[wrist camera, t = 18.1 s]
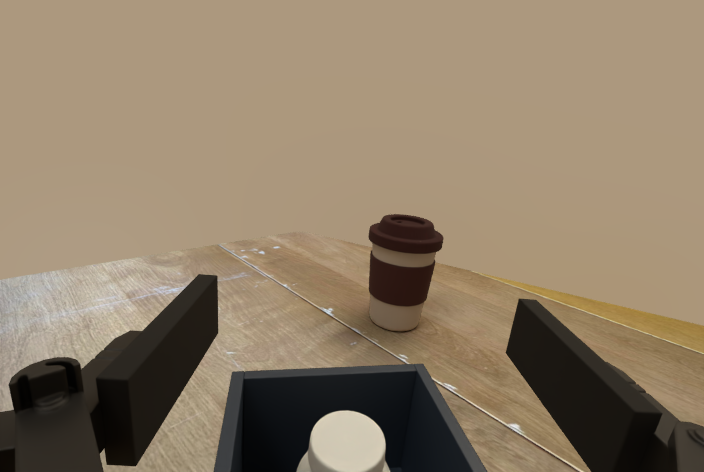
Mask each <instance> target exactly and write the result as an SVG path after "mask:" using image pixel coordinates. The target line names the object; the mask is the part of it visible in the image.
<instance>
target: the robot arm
mask: <svg viewBox="0 0 704 472" xmlns="http://www.w3.org/2000/svg"><path fill="white" fill-rule="evenodd" d="M217 334H218V286H217V276H214V275H201V274H199V275H198V276H197V277H196V278H195V279H194V280H193V281H192V282H191V283H190V284H189V285H188V286H187V287H186V288H185V289H184V290H183V291H182V292H181V293H180V294H179V295H178V296H177V297H176V298H175V299H174V300H173V301H172V302H171V303H170V304H169V305H168V306H167V307H166V308H165V309H164V310H163V311H162V312H161V313H160V314H159V315H158V316H157V317H156V318H155V319H154V320H153V321H152V322H151V323H150V324H149V325H148V326H147V327H146V328H145V329H144V330H143V331H129V332H127V333H125V334H123V335H121V336H119V337H117V338H115V339H114V340H113V341H112V342H111V343H110V344H109V345H108V346H106V347H105V348H104V350H102V351H101V352H100V353H99V354H98V355H97V356H96V357H95V359H92V360H91V361H90V362H89V363H88V364H87V365H86V366H85V367H84V368H82V369H81V366H80V363H79V362H78V361H77V360H76V359H72V358H69V357H57V358H52V359H46V360H43V361H40V362H37V363H34V364H31V365H29V366H27V367H26V368H24V369H22V370H20V371H19V372H18V373H17V374H15V375H14V376H13V377H12V378H11V381H10V383H9V388H10V393H11V398H12V402H13V407H14V410H11V411H4V412H0V472H103V467H102V463H101V459H100V453H101V452H102V451H103V449H104V448H105V455H106V463H107V465H122V466H136V465H137V464H138V462H139V460H140V459H141V457H142V456H143V454H144V452H145V451H146V449H147V447H148V446H149V444H150V443H151V441H152V439H153V438H154V436H155V434H156V433H157V431H158V430H159V428H160V426H161V425H162V423H163V422H164V420H165V418H166V417H167V415H168V413H169V412H170V410H171V409H172V407H173V405H174V404H175V402H176V400H177V399H178V397H179V396H180V394H181V392H182V391H183V389H184V387H185V386H186V384H187V383H188V381H189V379H190V378H191V376H192V375H193V373H194V371H195V370H196V368H197V366H198V365H199V363H200V362H201V360H202V358H203V357H204V355H205V353H206V352H207V350H208V349H209V347H210V345H211V344H212V342H213V340H214V339H215V337H216V336H217ZM506 354H507V355H508V357H509V358H510V359H511V361H512V362H513V363H514V365H515V366H516V368H517V369H518V370H519V372H520V373H521V375H522V376H523V377H524V379H525V380H526V382H527V383H528V384H529V386H530V387H531V388H532V390H533V391H534V393H535V394H536V395H537V397H538V398H539V400H540V401H541V402H542V404H543V405H544V407H545V408H546V409H547V411H548V412H549V413H550V415H551V416H552V418H553V419H554V420H555V422H556V423H557V425H558V426H559V427H560V429H561V430H562V432H563V433H564V434H565V436H566V437H567V438H568V440H569V441H570V443H571V444H572V445H573V447H574V448H575V450H576V451H577V452H578V454H579V455H580V457H581V458H582V459H583V461H584V462H585V463H586V465H587V466H588V468H589V469H590V470H591V472H704V427H703V426H700V425H697V424H694V423H690V422H683V421H682V422H681V421H679V420H678V419H677V418H676V417H675V416H674V415H672V414H671V413H670V412H669V411H668V410H667V409H666V408H664V407H663V406H662V405H661V404H660V403H659V402H658V401H656V400H655V399H654V398H653V397H652V396H651V395H650V394H648V393H646V391H645V390H644V389H643V388H641V387H640V386H639V385H637V384H636V382H635V381H633V380H632V379H631V378H630V377H629V376H628V375H627V374H625V373H624V372H623V371H621V370H620V369H618V368H616V367H615V366H613V365H611V364H610V363H608V362H605V361H604V360H602V359H601V358H600V357H599V356H598V355H597V354H596V353H595V352H594V351H592V350H591V349H590V348H589V347H588V346H587V345H586V344H585V343H583V342H582V341H581V340H580V339H579V338H578V337H577V336H576V335H575V334H573V333H572V332H571V331H570V330H569V329H568V328H567V327H566V326H564V325H563V324H562V323H561V322H560V321H559V320H558V319H557V318H556V317H554V316H553V315H552V314H551V313H550V312H549V311H548V310H547V309H545V308H544V307H543V306H542V305H541V304H540V303H539V302H538V301H537V300H530V299H519V301H518V305H517V309H516V313H515V317H514V321H513V325H512V329H511V333H510V338H509V342H508V346H507V350H506Z"/></svg>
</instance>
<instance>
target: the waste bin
mask: <svg viewBox="0 0 704 472" xmlns="http://www.w3.org/2000/svg"><path fill="white" fill-rule="evenodd" d="M336 411H354V412H358V413H361V414H363V415H366V416H367V417H369V418H370V419H372V420H373V421H374V422H375V423H376V424H377V425H378V426H379V427H380V429H381V430H382V432H383V435H384V438H385V443H386V450H385V461H386V463H387V465H388V467H389V470H390V472H487V470H486V469H485V467H484V465H483V463H482V462H481V460H480V458H479V457H478V455H477V453H476V452H475V450H474V448H473V447H472V445H471V443H470V442H469V440H468V438H467V437H466V435H465V433H464V432H463V430H462V428H461V427H460V425H459V423H458V422H457V420H456V418H455V416H454V415H453V413H452V411H451V410H450V408H449V406H448V405H447V403H446V401H445V400H444V398H443V396H442V395H441V393H440V391H439V390H438V388H437V386H436V385H435V383H434V381H433V380H432V378H431V376H430V374H429V373H428V371H427V369H426V368H425V366H424V364H414V365H413V364H404V365H380V366H357V367H333V368H310V369H286V370H263V371H245V372H244V371H238V372H232V376H231V381H230V387H229V392H228V397H227V403H226V408H225V413H224V419H223V424H222V429H221V435H220V440H219V445H218V451H217V456H216V462H215V467H214V472H296V471H297V468H298V465H299V463H300V461H301V459H302V458H303V456H304V455H305V454H306V452H307V451H308V449H309V442H310V436H311V432H312V430H313V427H314V426H315V424H316V423H317V422H318V421H319V420H320V419H321V418H322V417H324V416H325V415H327V414H330V413H332V412H336Z"/></svg>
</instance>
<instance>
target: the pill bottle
mask: <svg viewBox="0 0 704 472" xmlns="http://www.w3.org/2000/svg"><path fill="white" fill-rule="evenodd" d="M385 450H386V443H385V438H384V435H383V432H382V430H381V429H380V427H379V426H378V425H377V424H376V423H375V422H374V421H373V420H372V419H370V418H369V417H367V416H366V415H363V414H361V413H358V412H354V411H336V412H332V413H330V414H327V415H325V416H324V417H322V418H321V419H320V420H319V421H318V422H317V423H316V424H315V426H314V427H313V430H312V432H311V436H310V442H309V449H308V451H307V452H306V454H305V455H304V456H303V458H302V459H301V461H300V463H299V465H298V468H297V471H296V472H390V470H389V467H388V465H387V463H386V461H385Z"/></svg>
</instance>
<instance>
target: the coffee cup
mask: <svg viewBox="0 0 704 472" xmlns="http://www.w3.org/2000/svg"><path fill="white" fill-rule="evenodd" d="M369 240H370V241H371V242H372V243H373V247H372V251H371V254H370V276H369V292H370V309H369V315H370V318H371V320H372V321H373V322H374V323H375V324H376V325H378V326H380V327H382V328H384V329H387V330H391V331H408V330H411V329H414V328H415V327H416V326H417V325H418V323H419V320H420V316H421V312H422V308H423V304H424V301H425V300H426V298H427V294H428V290H429V286H430V282H431V278H432V274H433V270H434V266H435V259H434V258H435V254H436V252H437V251H439V250H440V249H441V248H442V243H443V236H442V235H441V234H440V233H439V232H437V231H435V230H434V225H433V223H432V222H430V221H429V220H427V219H424V218H420V217H416V216H409V215H399V214H394V215H386V216H384V217H383V218H382V220H381V222H380V223H377V224H374V225H372V226H371V227H370V230H369Z"/></svg>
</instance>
